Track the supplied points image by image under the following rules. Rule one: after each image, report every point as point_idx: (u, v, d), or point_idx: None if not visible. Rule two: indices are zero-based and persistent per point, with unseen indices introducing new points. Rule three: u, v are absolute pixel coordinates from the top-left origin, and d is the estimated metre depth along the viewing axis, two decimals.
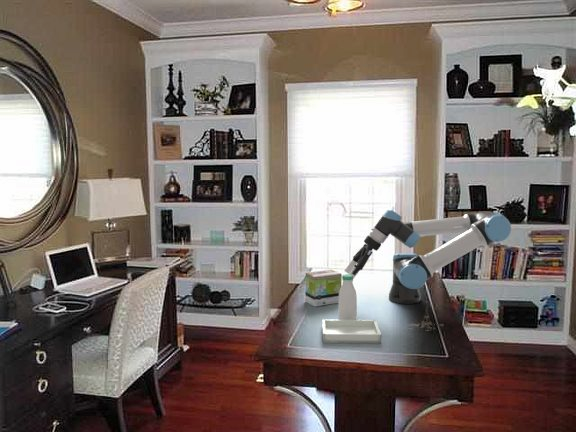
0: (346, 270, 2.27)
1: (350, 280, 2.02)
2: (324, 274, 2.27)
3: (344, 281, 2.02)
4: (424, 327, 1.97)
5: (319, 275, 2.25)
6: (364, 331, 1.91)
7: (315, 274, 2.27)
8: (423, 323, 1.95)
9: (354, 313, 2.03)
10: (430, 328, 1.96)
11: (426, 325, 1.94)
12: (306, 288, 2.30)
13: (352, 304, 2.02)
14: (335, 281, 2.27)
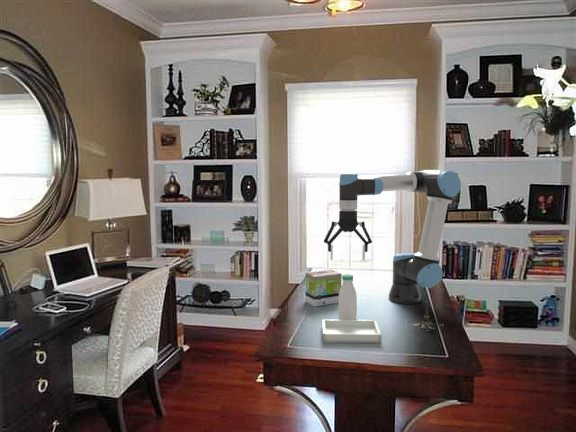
0: None
1: (350, 280, 2.02)
2: (324, 274, 2.27)
3: (344, 281, 2.02)
4: (424, 327, 1.97)
5: (319, 275, 2.25)
6: (364, 331, 1.91)
7: (315, 274, 2.27)
8: (423, 323, 1.96)
9: (354, 313, 2.03)
10: (430, 328, 1.96)
11: (426, 325, 1.94)
12: (306, 288, 2.30)
13: (352, 304, 2.02)
14: (335, 281, 2.27)
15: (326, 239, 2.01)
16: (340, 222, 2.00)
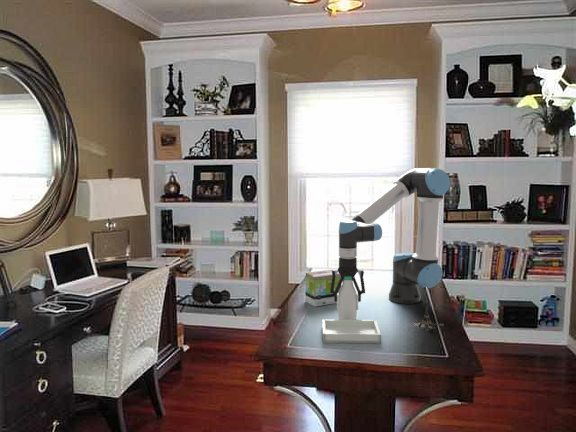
0: (338, 307, 2.05)
1: (350, 280, 2.02)
2: (324, 274, 2.27)
3: (344, 281, 2.02)
4: (424, 326, 1.97)
5: (319, 275, 2.25)
6: (364, 331, 1.91)
7: (315, 274, 2.27)
8: (423, 322, 1.96)
9: (354, 313, 2.03)
10: (430, 327, 1.96)
11: (426, 324, 1.95)
12: (306, 288, 2.30)
13: (352, 304, 2.02)
14: (335, 281, 2.27)
15: (332, 289, 2.04)
16: (340, 269, 2.02)
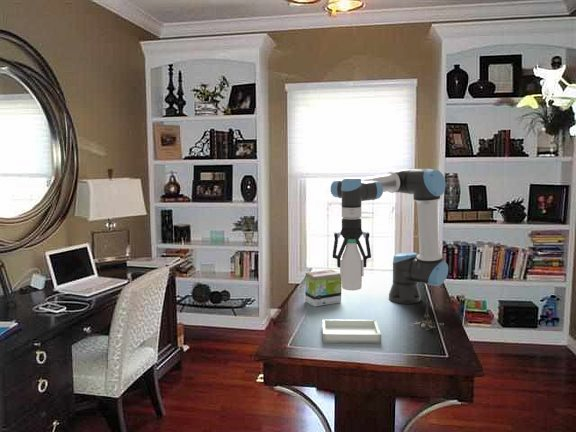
0: None
1: (354, 243, 1.83)
2: (324, 274, 2.27)
3: (348, 244, 1.83)
4: (424, 326, 1.98)
5: (319, 275, 2.25)
6: (364, 331, 1.91)
7: (315, 274, 2.27)
8: (423, 322, 1.97)
9: (359, 280, 1.84)
10: (430, 327, 1.97)
11: (426, 324, 1.95)
12: (306, 288, 2.30)
13: (356, 270, 1.83)
14: (335, 281, 2.27)
15: (334, 254, 1.85)
16: (343, 231, 1.83)
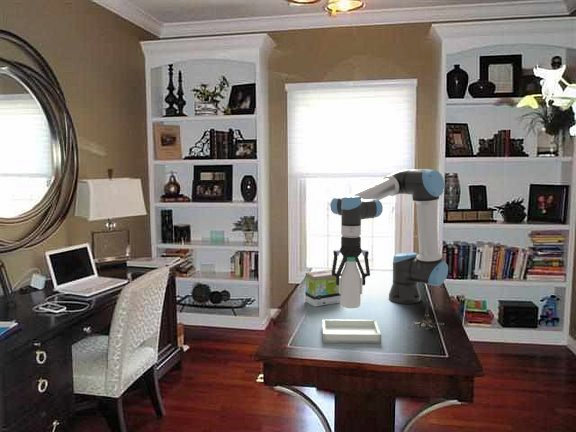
0: None
1: (353, 261, 1.83)
2: (324, 274, 2.27)
3: (347, 262, 1.84)
4: (424, 325, 1.99)
5: (319, 275, 2.25)
6: (364, 331, 1.91)
7: (315, 274, 2.27)
8: (423, 321, 1.97)
9: (358, 298, 1.85)
10: (430, 326, 1.97)
11: (426, 323, 1.96)
12: (306, 288, 2.30)
13: (355, 288, 1.83)
14: (335, 281, 2.27)
15: (333, 271, 1.85)
16: (342, 249, 1.84)
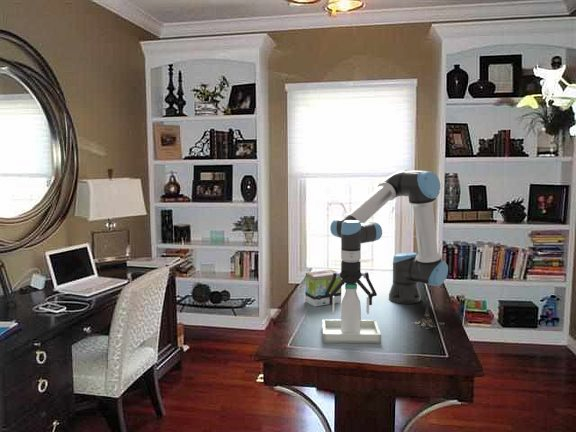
0: None
1: (354, 289, 1.85)
2: (324, 274, 2.27)
3: (348, 289, 1.86)
4: (424, 325, 1.99)
5: (319, 275, 2.25)
6: (364, 331, 1.91)
7: (315, 274, 2.27)
8: (423, 321, 1.98)
9: (358, 325, 1.86)
10: (430, 326, 1.98)
11: (426, 323, 1.96)
12: (306, 288, 2.30)
13: (356, 315, 1.85)
14: (335, 281, 2.27)
15: (327, 292, 1.86)
16: (342, 273, 1.85)
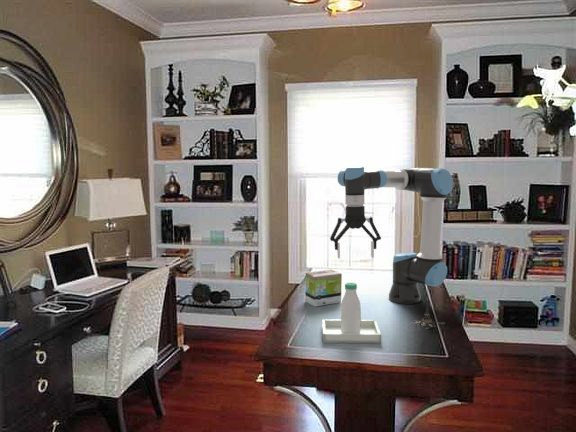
0: (339, 256, 1.92)
1: (353, 289, 1.85)
2: (324, 274, 2.27)
3: (347, 290, 1.85)
4: (425, 325, 1.99)
5: (319, 275, 2.25)
6: (364, 331, 1.91)
7: (315, 274, 2.27)
8: (423, 321, 1.98)
9: (358, 325, 1.86)
10: (430, 326, 1.98)
11: (426, 323, 1.97)
12: (306, 288, 2.30)
13: (355, 315, 1.85)
14: (335, 281, 2.27)
15: (333, 237, 1.91)
16: (347, 218, 1.90)
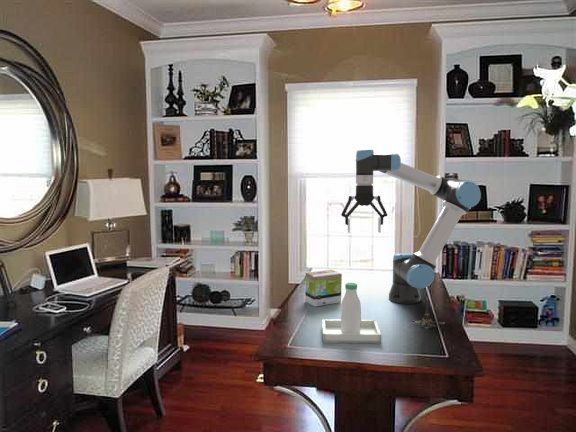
0: (349, 230, 2.13)
1: (354, 289, 1.85)
2: (324, 274, 2.27)
3: (348, 290, 1.85)
4: (425, 324, 2.00)
5: (319, 275, 2.25)
6: (364, 331, 1.91)
7: (315, 274, 2.27)
8: (423, 320, 1.98)
9: (358, 325, 1.86)
10: (430, 325, 1.98)
11: (426, 322, 1.97)
12: (306, 288, 2.30)
13: (356, 315, 1.85)
14: (335, 281, 2.27)
15: (343, 213, 2.11)
16: (357, 196, 2.10)
